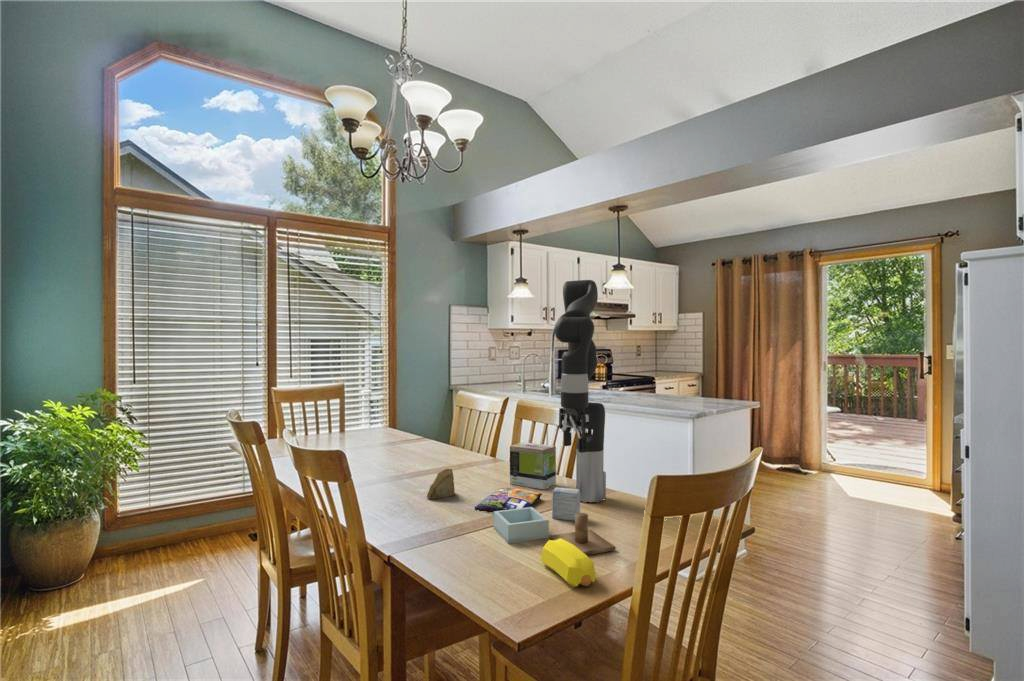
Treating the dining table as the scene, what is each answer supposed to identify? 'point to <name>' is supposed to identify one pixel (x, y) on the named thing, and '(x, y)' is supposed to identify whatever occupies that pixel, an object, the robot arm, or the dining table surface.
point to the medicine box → (565, 503)
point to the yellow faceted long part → (568, 562)
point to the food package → (508, 499)
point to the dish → (521, 525)
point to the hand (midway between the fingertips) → (574, 448)
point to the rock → (442, 485)
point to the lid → (585, 537)
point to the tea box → (533, 465)
